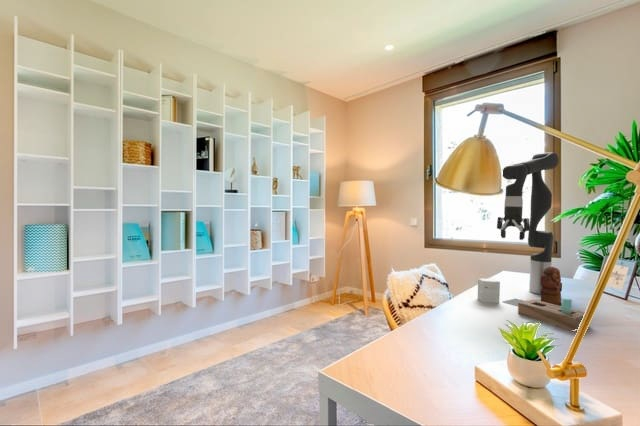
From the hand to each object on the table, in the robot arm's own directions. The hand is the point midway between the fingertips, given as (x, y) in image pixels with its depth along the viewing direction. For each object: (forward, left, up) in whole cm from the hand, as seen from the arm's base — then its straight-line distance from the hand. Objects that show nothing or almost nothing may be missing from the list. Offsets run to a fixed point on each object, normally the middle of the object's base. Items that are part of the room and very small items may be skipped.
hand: (512, 238), depth 153 cm
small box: (+13, -3, -30) cm, 33 cm away
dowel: (+13, +29, -30) cm, 44 cm away
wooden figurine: (-9, +14, -30) cm, 35 cm away
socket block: (+13, +24, -30) cm, 41 cm away
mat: (+3, +7, -30) cm, 31 cm away
